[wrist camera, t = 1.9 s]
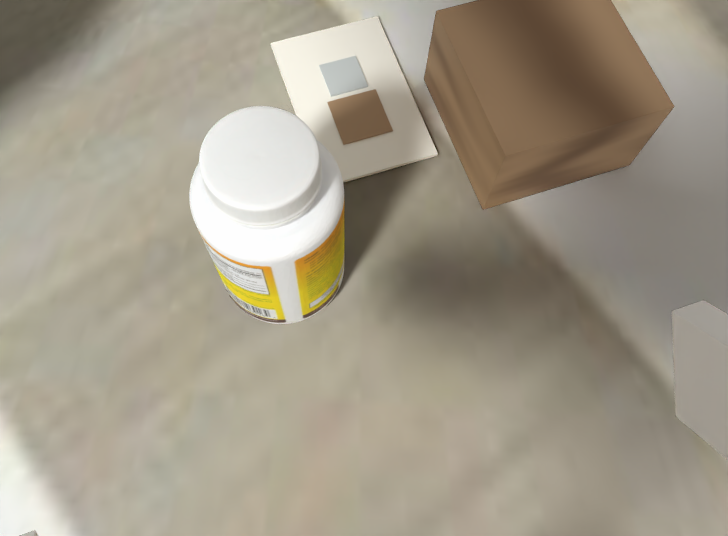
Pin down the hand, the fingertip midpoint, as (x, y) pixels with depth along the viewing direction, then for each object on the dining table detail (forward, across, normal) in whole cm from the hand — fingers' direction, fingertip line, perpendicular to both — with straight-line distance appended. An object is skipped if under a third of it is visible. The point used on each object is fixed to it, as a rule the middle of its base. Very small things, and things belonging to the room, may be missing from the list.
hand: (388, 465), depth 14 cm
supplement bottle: (+19, 0, -3) cm, 19 cm away
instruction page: (+24, +6, +3) cm, 25 cm away
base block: (+22, +14, 0) cm, 26 cm away
